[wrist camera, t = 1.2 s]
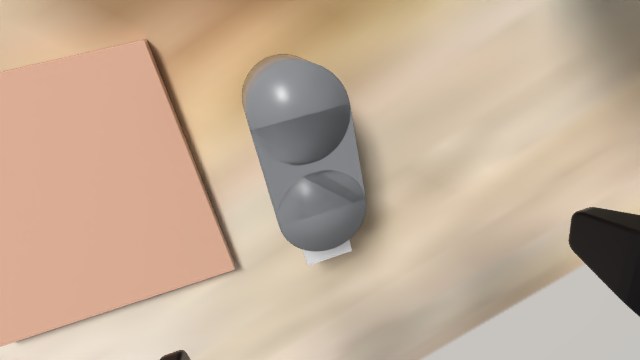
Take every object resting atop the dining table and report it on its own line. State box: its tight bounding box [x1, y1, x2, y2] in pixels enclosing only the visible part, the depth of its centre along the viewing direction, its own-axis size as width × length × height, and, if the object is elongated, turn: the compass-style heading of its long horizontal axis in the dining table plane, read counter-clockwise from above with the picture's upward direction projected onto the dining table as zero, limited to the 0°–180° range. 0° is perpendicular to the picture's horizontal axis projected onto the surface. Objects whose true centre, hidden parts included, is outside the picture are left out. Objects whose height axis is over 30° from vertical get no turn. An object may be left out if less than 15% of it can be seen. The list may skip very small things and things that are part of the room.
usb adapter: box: [242, 54, 366, 266], centre depth 17 cm, size 10×4×4 cm, turn 12°
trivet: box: [0, 39, 235, 347], centre depth 16 cm, size 12×12×1 cm
